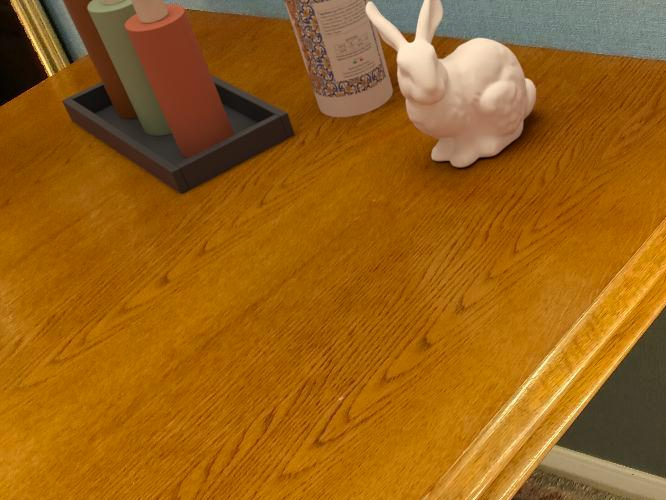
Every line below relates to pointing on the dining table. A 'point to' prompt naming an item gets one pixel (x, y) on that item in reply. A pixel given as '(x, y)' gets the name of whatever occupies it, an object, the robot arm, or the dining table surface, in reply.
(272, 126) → the tray
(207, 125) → the terracotta bottle
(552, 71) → the dining table surface
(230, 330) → the dining table surface
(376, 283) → the dining table surface
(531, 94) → the rabbit
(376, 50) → the bath foam
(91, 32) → the amber bottle
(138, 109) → the sage bottle
